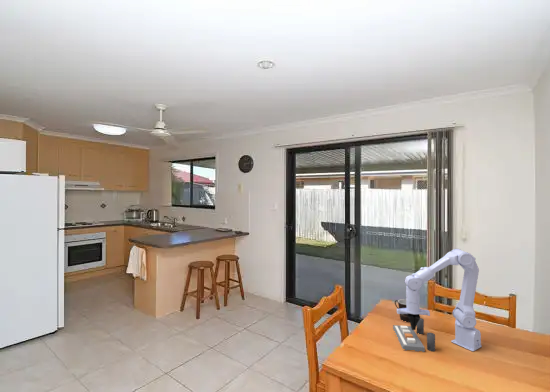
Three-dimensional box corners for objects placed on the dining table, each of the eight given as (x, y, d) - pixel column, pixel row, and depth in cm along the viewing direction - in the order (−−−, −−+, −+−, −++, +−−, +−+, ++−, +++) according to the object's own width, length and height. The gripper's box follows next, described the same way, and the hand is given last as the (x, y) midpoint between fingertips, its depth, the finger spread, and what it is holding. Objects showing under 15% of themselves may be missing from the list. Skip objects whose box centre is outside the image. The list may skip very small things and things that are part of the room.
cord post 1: (425, 333, 140) (425, 319, 140) (421, 335, 138) (421, 321, 138) (419, 331, 143) (419, 317, 143) (415, 332, 141) (415, 319, 141)
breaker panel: (393, 328, 145) (393, 322, 145) (411, 330, 144) (411, 323, 144) (403, 350, 126) (403, 342, 126) (424, 351, 124) (424, 344, 124)
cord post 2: (436, 350, 125) (436, 334, 125) (432, 352, 124) (432, 336, 124) (429, 346, 128) (429, 331, 128) (425, 348, 126) (425, 333, 126)
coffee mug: (418, 323, 151) (417, 305, 151) (402, 323, 151) (401, 305, 151) (408, 313, 163) (407, 297, 163) (393, 314, 163) (393, 297, 163)
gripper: (426, 298, 137) (426, 326, 137) (394, 297, 139) (395, 324, 139) (431, 304, 130) (431, 333, 130) (398, 302, 132) (399, 330, 132)
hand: (413, 329), depth 134 cm, fingers closed
